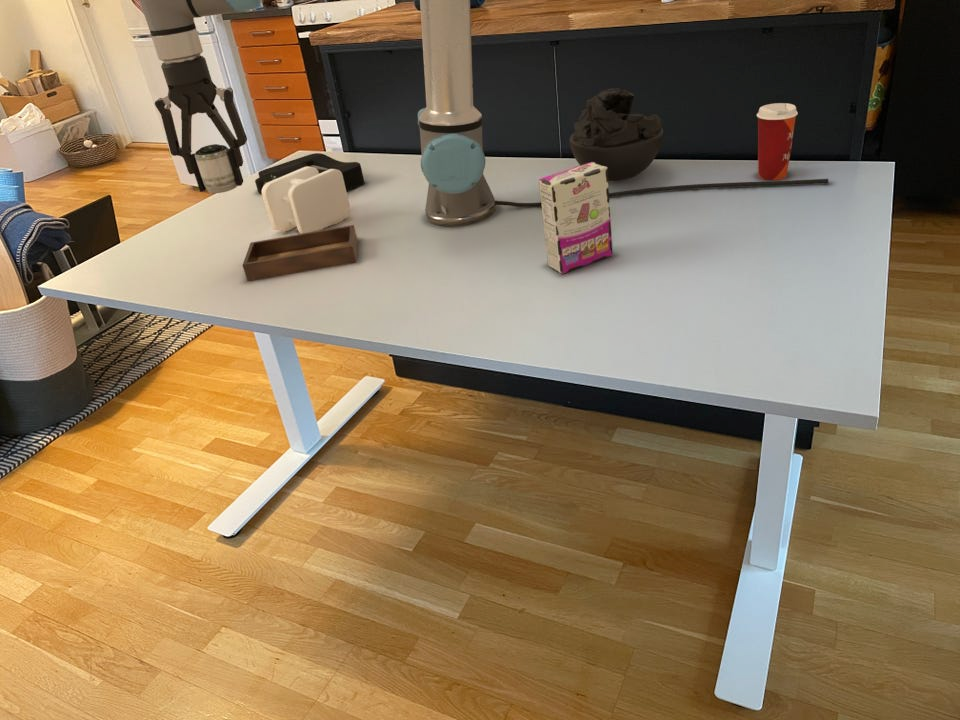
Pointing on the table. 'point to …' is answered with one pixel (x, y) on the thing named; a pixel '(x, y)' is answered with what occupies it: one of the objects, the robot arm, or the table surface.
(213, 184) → the camera lens
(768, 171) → the paper cup
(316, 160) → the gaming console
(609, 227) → the candy bar box
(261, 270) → the box
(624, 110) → the coal bowl
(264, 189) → the cable organizer
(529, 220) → the table surface
